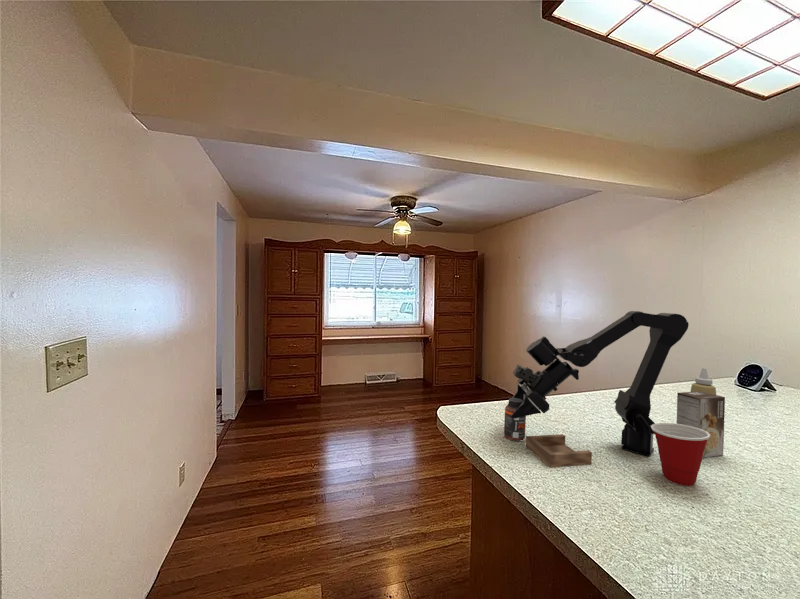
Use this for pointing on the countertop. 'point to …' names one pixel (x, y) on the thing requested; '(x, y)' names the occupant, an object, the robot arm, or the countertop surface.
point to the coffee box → (704, 417)
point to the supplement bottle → (514, 421)
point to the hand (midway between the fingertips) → (510, 411)
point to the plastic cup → (680, 451)
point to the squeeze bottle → (703, 383)
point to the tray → (556, 451)
